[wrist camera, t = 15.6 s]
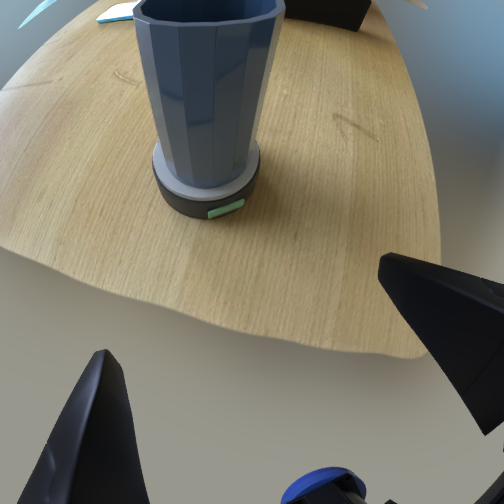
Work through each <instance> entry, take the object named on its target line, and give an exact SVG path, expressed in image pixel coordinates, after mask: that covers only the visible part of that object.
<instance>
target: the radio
mask: <svg viewBox="0 0 504 504" xmlns="http://www.w3.org/2000/svg"><path fill="white" fill-rule="evenodd" d="M371 2H372V1H371V0H284V4H285V7H286V11H285V15H284V18H291V19H298V20H305V21H310V22H316V23H321V24H326V25H330V26H335V27H339V28H343V29H347V30H351V31H354V32H357V31H358V30H359V28H360V26H361V24H362V22H363V19H364V17H365V15H366V13H367V11H368V9H369V7H370V5H371Z"/></svg>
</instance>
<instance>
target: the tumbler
mask: <svg viewBox="0 0 504 504" xmlns="http://www.w3.org/2000/svg"><path fill="white" fill-rule="evenodd" d="M285 11H286V7H285V4H284V0H140V1H139V2H138V3H137V4H136V5H135V6H134V7H133V8H132V14H133V21H134V27H135V32H136V38H137V44H138V49H139V54H140V59H141V64H142V69H143V74H144V78H145V83H146V88H147V92H148V96H149V101H150V105H151V109H152V113H153V118H154V122H155V126H156V130H157V134H158V137H159V141H160V145H161V149H162V153H163V156H164V159H165V163H166V166H167V168H168V170H169V172H170V173H171V174H172V175H173V176H174V177H175V178H176V179H177V180H179V181H180V182H182V183H184V184H186V185H188V186H192V187H196V188H216V187H220V186H223V185H226V184H228V183H230V182H232V181H234V180H235V179H237V178H238V177H239V176H240V175H241V174H242V173H243V172H244V171H245V170H246V168H247V166H248V164H249V162H250V158H251V157H252V153H253V148H254V144H255V139H256V134H257V130H258V125H259V121H260V116H261V112H262V107H263V103H264V98H265V94H266V90H267V85H268V81H269V77H270V72H271V68H272V64H273V60H274V56H275V51H276V47H277V43H278V39H279V35H280V31H281V27H282V23H283V19H284V15H285Z"/></svg>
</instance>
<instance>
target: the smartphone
mask: <svg viewBox="0 0 504 504" xmlns="http://www.w3.org/2000/svg"><path fill="white" fill-rule="evenodd" d="M137 3H138V2H132V3H125V4H118V5H116V6H114V7H112V8H111V9H109V10H108V11H107V12H105V13H104V14H103V15H101V16H100V17H99V18H98V19H97V22H98V23H103V22H110V21H117V20H126V19H133V14H132V8H133V7H134V6H135V5H136V4H137Z"/></svg>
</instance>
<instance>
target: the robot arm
mask: <svg viewBox="0 0 504 504" xmlns="http://www.w3.org/2000/svg"><path fill="white" fill-rule="evenodd" d="M378 280H379V282H380V283H381V285H382V286H383V288H384V289H385V291H386V292H387V294H388V295H389V297H390V298H391V300H392V302H393V303H394V305H395V306H396V308H397V309H398V311H399V312H400V314H401V315H402V316H403V318H404V319H405V320H406V322H407V323H408V324H409V325H410V327H411V328H412V329H413V331H414V332H415V333H416V335H417V336H418V337H419V339H420V340H421V341H422V343H423V344H424V345H425V347H426V348H427V349H428V351H429V352H430V353H431V355H432V356H433V357H434V359H435V360H436V361H437V363H438V364H439V366H440V367H441V369H442V370H443V372H444V373H445V374H446V376H447V377H448V379H449V380H450V382H451V383H452V385H453V386H454V388H455V389H456V391H457V392H458V394H459V395H460V397H461V398H462V400H463V402H464V403H465V405H466V406H467V408H468V409H469V411H470V413H471V414H472V416H473V418H474V419H475V421H476V423H477V424H478V426H479V428H480V429H481V431H482V433H483V434H484V435H485V436H486V435H487V434H489V433H490V432H491V431H492V430H494V429H495V428H496V427H497V426H499V425H500V424H501V423H502V422H504V284H501V283H497V282H494V281H490V280H487V279H484V278H480V277H477V276H474V275H471V274H467V273H464V272H461V271H457V270H453V269H450V268H447V267H443V266H440V265H436V264H433V263H429V262H426V261H422V260H418V259H415V258H411V257H407V256H404V255H400V254H396V253H392V252H390V253H387V254H385V255H382V256H381V258H380V262H379V270H378ZM503 452H504V449H503ZM347 476H348V477H347ZM346 477H347V478H346ZM345 478H346V479H345ZM17 504H150V502H149V499H148V495H147V491H146V487H145V483H144V478H143V474H142V469H141V465H140V460H139V454H138V449H137V444H136V437H135V430H134V423H133V417H132V412H131V407H130V403H129V399H128V394H127V389H126V385H125V379H124V374H123V370H122V367H121V366H120V364H119V363H118V362H117V360H116V359H115V358H114V356H113V355H112V354H111V353H110V351H109V350H107V349H104V350H100V351H96V352H95V353H94V354H93V356H92V358H91V360H90V361H89V363H88V365H87V366H86V368H85V370H84V372H83V373H82V375H81V377H80V379H79V380H78V382H77V384H76V386H75V387H74V389H73V391H72V393H71V395H70V397H69V399H68V400H67V402H66V404H65V406H64V408H63V410H62V412H61V414H60V416H59V418H58V420H57V422H56V424H55V426H54V428H53V430H52V432H51V434H50V436H49V438H48V440H47V444H46V445H45V447H44V449H43V451H42V453H41V455H40V458H39V460H38V462H37V464H36V466H35V468H34V470H33V473H32V474H31V476H30V478H29V480H28V482H27V484H26V486H25V488H24V490H23V492H22V494H21V496H20V498H19V500H18V502H17ZM285 504H367V503H366V502H365V501H364V499H363V497H362V495H361V493H360V490H359V488H358V486H357V484H356V482H355V480H354V478H353V475H352V474H351V473H349V472H347V473H344V474H342V475H341V476H339V477H337V478H335V479H334V480H332V481H330V482H328V483H326V484H324V485H322V486H320V487H318V488H316V489H314V490H312V491H310V492H308V493H306V494H304V495H302V496H300V497H297V498H295V499H293V500H290V501H288V502H286V503H285ZM385 504H397V503H395V502H393V501H392V500H388V501H387V502H386V503H385ZM474 504H504V472H502V474H501V475H500V476H499V477H498V479H497V480H496V481H495V482H494V483H493V484H492V486H490V488H489V489H488V490H487V491H486V492H485V493H484V494H483V495H482V496H481V497H480V498H479V499H478V500H477V501H476V502H475V503H474Z"/></svg>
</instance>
